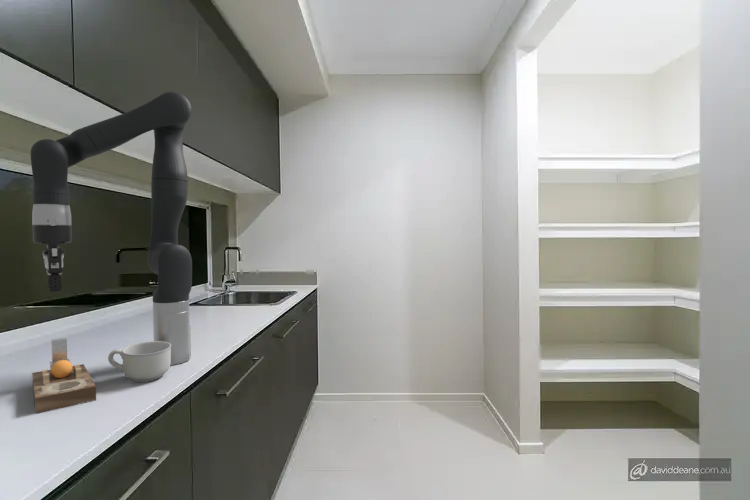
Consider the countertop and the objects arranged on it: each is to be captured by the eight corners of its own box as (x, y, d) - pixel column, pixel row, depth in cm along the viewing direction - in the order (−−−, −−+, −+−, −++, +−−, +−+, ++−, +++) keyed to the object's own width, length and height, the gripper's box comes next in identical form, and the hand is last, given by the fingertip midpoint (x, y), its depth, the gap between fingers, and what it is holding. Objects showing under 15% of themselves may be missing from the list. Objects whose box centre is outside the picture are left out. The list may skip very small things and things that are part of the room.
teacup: (179, 370, 108) (178, 340, 108) (158, 385, 97) (158, 352, 97) (125, 371, 107) (124, 341, 107) (98, 386, 97) (98, 352, 96)
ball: (60, 374, 96) (60, 357, 96) (77, 374, 96) (76, 357, 96) (46, 380, 92) (45, 362, 92) (63, 380, 92) (62, 363, 92)
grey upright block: (50, 371, 98) (49, 340, 97) (68, 368, 100) (67, 337, 100) (51, 375, 95) (50, 343, 94) (70, 372, 97) (69, 340, 97)
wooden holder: (32, 385, 97) (32, 364, 97) (83, 375, 104) (83, 356, 104) (36, 413, 82) (35, 388, 81) (96, 400, 88) (95, 377, 88)
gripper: (32, 224, 103) (34, 288, 103) (32, 222, 92) (35, 294, 93) (69, 224, 108) (71, 286, 108) (73, 223, 97) (75, 291, 97)
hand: (54, 289), depth 100 cm, fingers open, 8 cm apart
